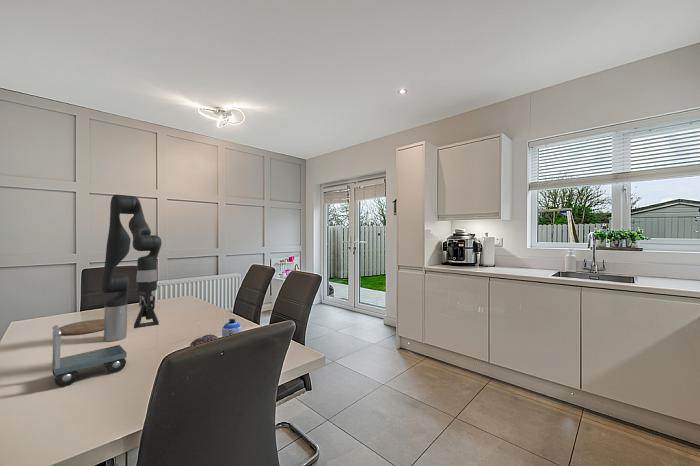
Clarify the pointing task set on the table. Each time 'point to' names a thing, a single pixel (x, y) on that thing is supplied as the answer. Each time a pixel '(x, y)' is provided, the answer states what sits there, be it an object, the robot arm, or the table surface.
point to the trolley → (83, 360)
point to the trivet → (82, 327)
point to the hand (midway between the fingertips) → (146, 317)
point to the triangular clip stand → (155, 322)
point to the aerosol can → (231, 328)
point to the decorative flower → (203, 339)
